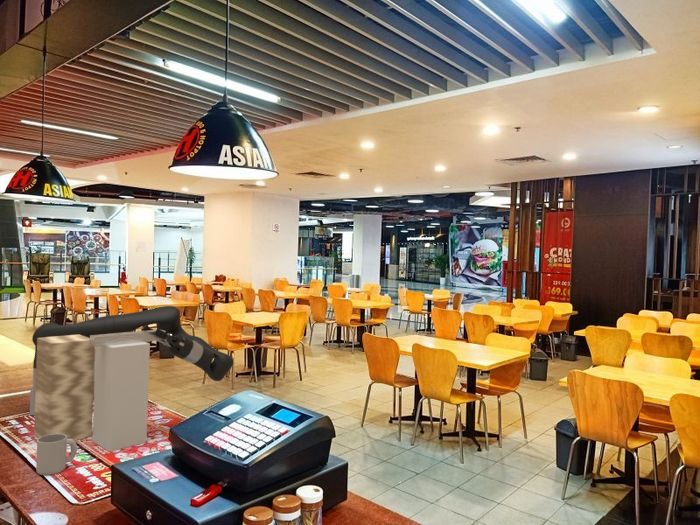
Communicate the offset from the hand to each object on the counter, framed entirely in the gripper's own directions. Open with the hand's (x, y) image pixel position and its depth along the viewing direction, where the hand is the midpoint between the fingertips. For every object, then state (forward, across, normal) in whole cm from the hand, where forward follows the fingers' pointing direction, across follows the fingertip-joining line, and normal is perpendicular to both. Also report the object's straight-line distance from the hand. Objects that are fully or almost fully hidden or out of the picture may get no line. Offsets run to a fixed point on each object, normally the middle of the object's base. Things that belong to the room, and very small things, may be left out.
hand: (149, 329), depth 173 cm
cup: (+8, +8, +46) cm, 48 cm away
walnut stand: (-1, -17, +41) cm, 44 cm away
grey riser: (-10, 0, +35) cm, 37 cm away
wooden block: (+4, 0, +6) cm, 8 cm away
